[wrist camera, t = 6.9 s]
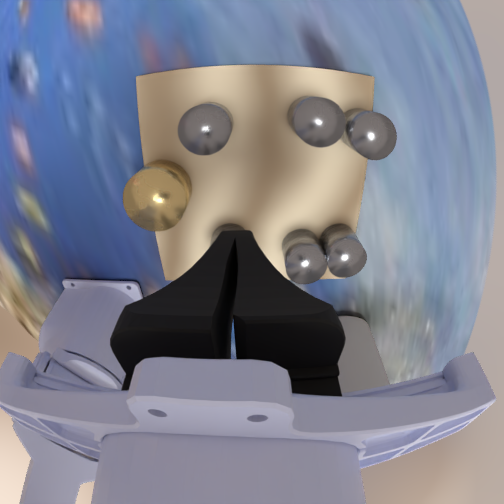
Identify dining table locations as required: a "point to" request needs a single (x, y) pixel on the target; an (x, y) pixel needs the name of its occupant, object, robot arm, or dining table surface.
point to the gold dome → (157, 195)
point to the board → (253, 156)
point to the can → (359, 358)
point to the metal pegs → (317, 135)
